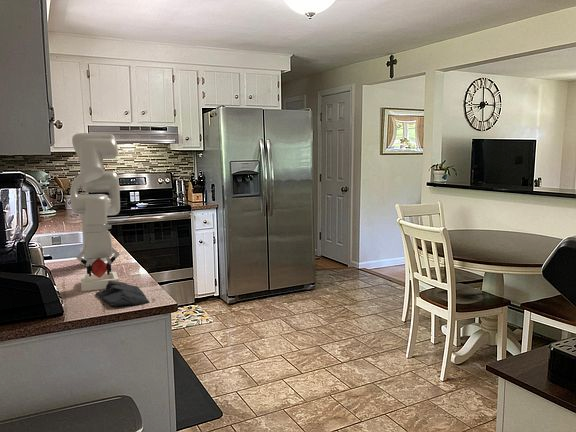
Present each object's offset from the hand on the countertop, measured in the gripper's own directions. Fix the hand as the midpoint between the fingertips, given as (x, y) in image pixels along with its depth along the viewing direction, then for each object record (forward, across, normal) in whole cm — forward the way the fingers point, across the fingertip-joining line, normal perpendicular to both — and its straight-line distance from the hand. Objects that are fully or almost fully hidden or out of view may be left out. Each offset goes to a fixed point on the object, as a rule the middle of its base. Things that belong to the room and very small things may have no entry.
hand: (99, 274), depth 178 cm
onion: (+1, 0, 0) cm, 1 cm away
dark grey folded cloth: (+5, -6, +21) cm, 23 cm away
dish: (+4, 0, 0) cm, 4 cm away
